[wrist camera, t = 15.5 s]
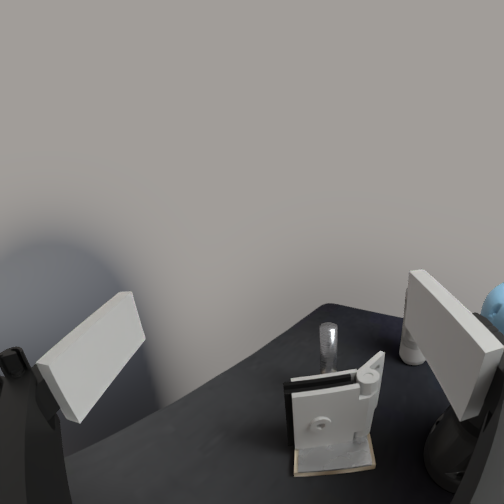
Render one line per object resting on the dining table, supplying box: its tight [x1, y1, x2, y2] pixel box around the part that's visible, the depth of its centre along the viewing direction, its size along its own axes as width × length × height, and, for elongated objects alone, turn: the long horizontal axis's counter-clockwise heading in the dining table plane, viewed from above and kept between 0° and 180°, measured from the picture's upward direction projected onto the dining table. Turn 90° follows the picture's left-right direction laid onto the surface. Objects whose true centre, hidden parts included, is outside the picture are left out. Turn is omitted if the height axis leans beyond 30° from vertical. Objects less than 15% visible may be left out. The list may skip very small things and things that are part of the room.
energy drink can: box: [399, 288, 426, 365], centre depth 44 cm, size 6×6×15 cm
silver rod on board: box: [298, 322, 372, 473], centre depth 34 cm, size 9×17×12 cm, turn 173°
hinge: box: [283, 351, 385, 450], centre depth 32 cm, size 14×5×10 cm, turn 101°
